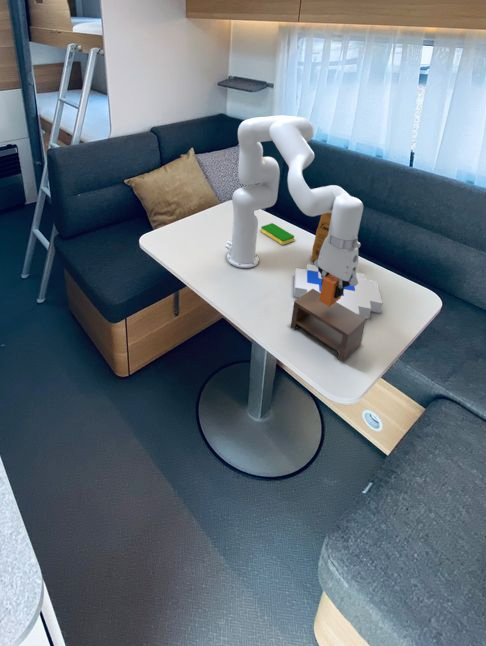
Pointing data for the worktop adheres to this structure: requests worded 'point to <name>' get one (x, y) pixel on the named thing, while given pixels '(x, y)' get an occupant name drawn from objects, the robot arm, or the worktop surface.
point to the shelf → (329, 323)
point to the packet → (329, 290)
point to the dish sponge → (277, 233)
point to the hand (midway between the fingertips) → (331, 292)
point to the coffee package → (321, 235)
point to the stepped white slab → (353, 298)
